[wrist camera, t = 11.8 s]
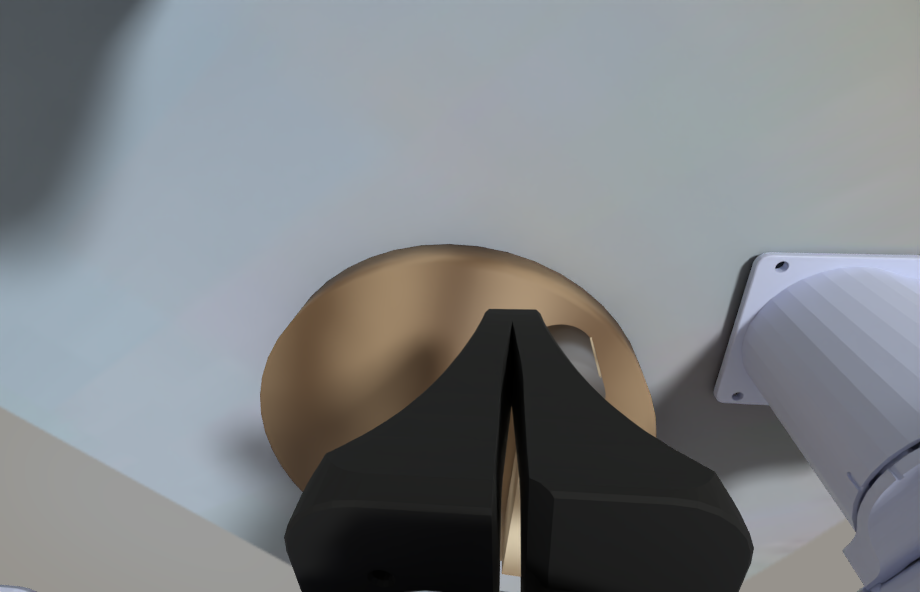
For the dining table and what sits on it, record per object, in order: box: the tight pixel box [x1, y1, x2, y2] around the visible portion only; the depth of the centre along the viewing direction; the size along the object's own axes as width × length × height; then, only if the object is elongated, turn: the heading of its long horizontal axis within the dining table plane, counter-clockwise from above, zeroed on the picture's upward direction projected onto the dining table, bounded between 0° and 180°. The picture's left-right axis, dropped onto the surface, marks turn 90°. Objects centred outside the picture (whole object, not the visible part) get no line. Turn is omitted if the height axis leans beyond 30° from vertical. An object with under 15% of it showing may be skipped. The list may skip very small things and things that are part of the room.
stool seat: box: [260, 244, 656, 561], centre depth 24 cm, size 20×20×4 cm
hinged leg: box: [502, 324, 606, 577], centre depth 22 cm, size 14×3×3 cm, turn 177°
